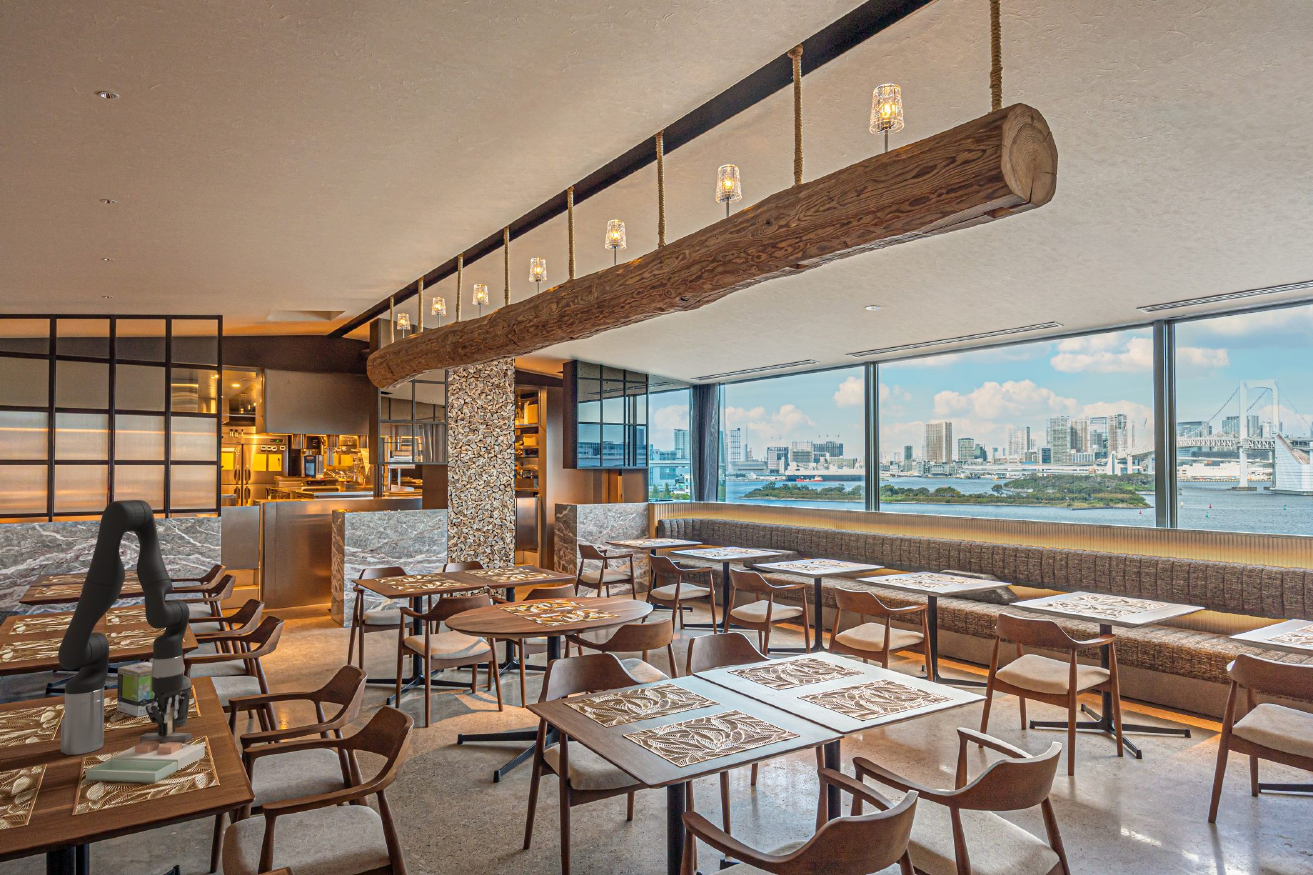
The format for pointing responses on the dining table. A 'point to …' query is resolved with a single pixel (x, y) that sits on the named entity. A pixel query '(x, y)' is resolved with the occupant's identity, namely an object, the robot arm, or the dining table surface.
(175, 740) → the scraper
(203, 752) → the stone plate
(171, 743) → the tile
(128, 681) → the tea box
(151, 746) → the tile
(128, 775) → the tray
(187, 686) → the beverage cup
